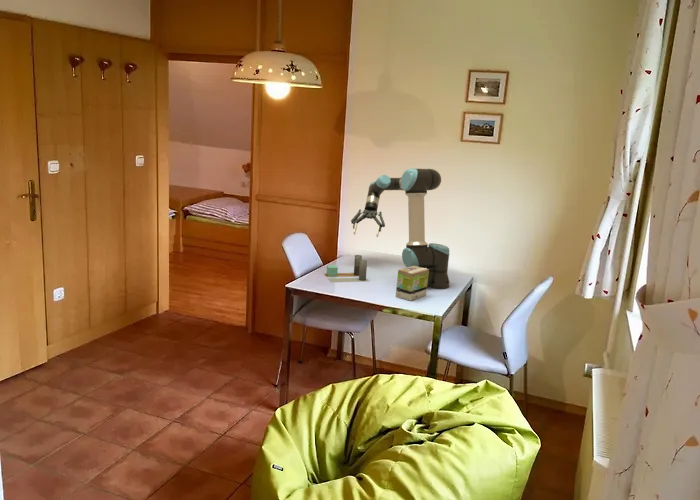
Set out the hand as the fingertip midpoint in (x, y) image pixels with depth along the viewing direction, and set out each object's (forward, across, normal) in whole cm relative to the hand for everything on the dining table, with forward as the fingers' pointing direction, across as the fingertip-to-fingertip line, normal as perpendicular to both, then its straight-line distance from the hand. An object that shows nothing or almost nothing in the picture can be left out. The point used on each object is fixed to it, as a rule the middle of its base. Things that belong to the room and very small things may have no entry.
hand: (365, 234), depth 360 cm
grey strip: (+34, +4, +4) cm, 35 cm away
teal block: (+29, +14, 0) cm, 33 cm away
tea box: (+43, -33, +12) cm, 55 cm away
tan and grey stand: (+28, +8, -3) cm, 29 cm away
